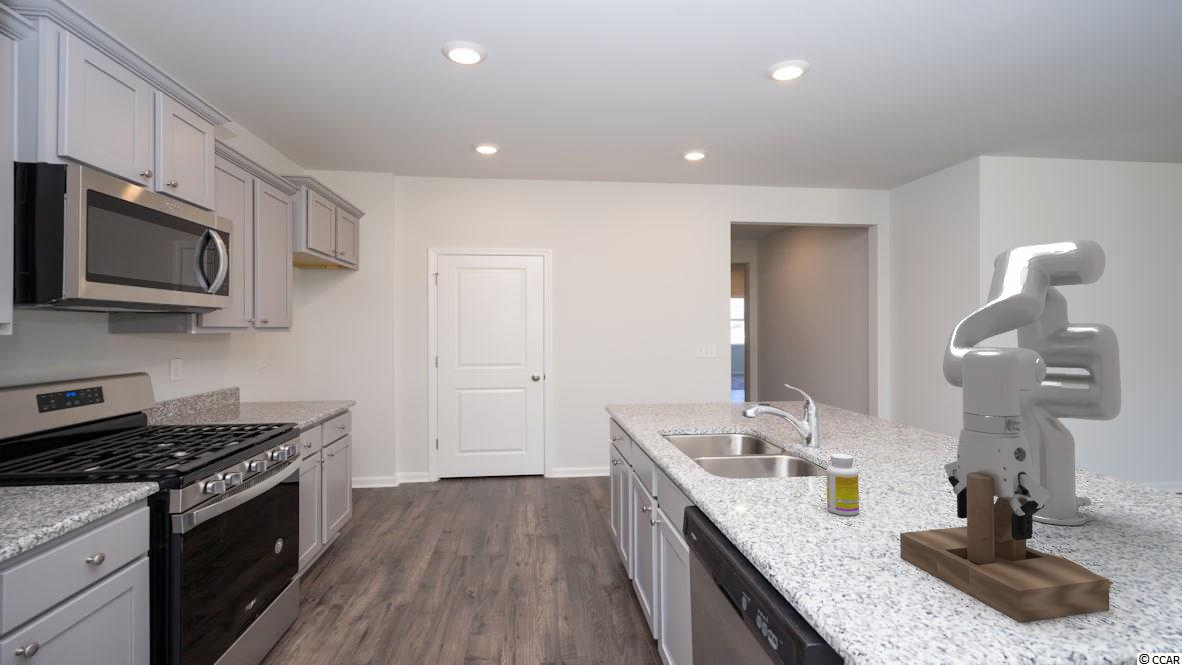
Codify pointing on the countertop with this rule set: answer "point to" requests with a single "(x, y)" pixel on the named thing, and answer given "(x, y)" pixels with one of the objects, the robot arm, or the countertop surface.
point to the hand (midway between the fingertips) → (992, 527)
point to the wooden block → (989, 524)
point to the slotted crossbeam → (1008, 577)
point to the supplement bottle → (842, 486)
